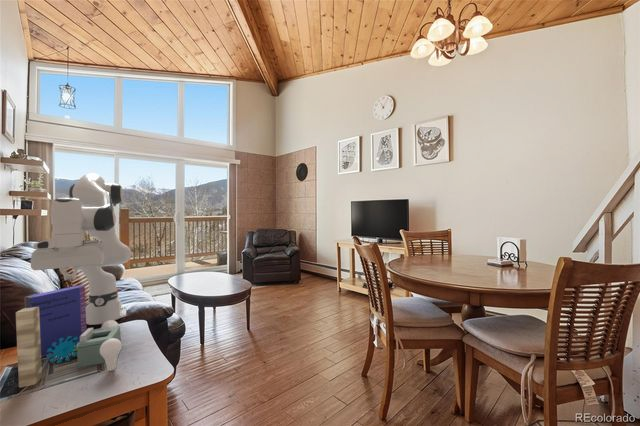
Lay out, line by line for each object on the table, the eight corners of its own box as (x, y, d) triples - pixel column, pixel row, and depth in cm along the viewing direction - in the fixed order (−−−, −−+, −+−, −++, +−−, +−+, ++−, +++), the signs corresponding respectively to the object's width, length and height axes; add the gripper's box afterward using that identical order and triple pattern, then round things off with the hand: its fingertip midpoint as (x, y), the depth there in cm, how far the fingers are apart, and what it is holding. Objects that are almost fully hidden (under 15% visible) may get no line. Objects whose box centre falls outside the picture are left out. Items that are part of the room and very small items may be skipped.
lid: (89, 334, 110) (89, 326, 110) (120, 329, 114) (119, 321, 114) (77, 347, 99) (76, 338, 99) (111, 341, 103) (110, 333, 103)
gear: (40, 363, 100) (53, 335, 107) (45, 369, 104) (57, 342, 111) (78, 360, 104) (88, 334, 111) (81, 366, 108) (91, 340, 115)
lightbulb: (124, 370, 96) (122, 338, 96) (101, 378, 92) (100, 345, 92) (120, 364, 101) (119, 333, 101) (99, 371, 96) (98, 339, 96)
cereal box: (81, 338, 124) (78, 284, 124) (87, 340, 122) (84, 285, 122) (27, 357, 108) (24, 296, 108) (32, 360, 106) (29, 297, 106)
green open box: (90, 352, 110) (89, 335, 110) (120, 347, 114) (120, 330, 114) (77, 367, 99) (77, 348, 99) (111, 361, 103) (111, 342, 103)
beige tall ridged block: (26, 380, 92) (23, 308, 92) (42, 377, 94) (39, 306, 94) (18, 387, 89) (15, 312, 89) (35, 384, 90) (32, 310, 90)
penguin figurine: (116, 316, 125) (125, 325, 117) (117, 335, 125) (125, 345, 118) (99, 321, 120) (106, 330, 112) (99, 340, 121) (106, 351, 113)
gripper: (106, 238, 109) (107, 274, 109) (37, 243, 101) (39, 281, 101) (100, 240, 103) (102, 277, 103) (27, 244, 95) (28, 285, 95)
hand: (70, 279), depth 102 cm, fingers closed
